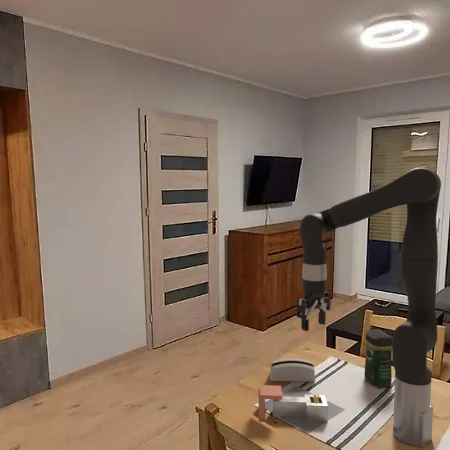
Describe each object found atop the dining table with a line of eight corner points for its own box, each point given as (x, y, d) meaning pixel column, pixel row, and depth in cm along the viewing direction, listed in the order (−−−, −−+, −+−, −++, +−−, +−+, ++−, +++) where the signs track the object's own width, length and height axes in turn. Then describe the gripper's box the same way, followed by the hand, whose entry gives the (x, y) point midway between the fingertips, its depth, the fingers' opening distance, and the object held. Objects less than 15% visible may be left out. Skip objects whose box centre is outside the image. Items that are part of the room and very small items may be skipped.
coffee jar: (395, 387, 140) (397, 336, 138) (374, 389, 139) (375, 337, 137) (381, 374, 149) (382, 326, 147) (361, 376, 148) (362, 327, 146)
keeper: (280, 411, 126) (280, 385, 125) (281, 422, 120) (282, 395, 119) (258, 410, 127) (258, 385, 126) (258, 421, 121) (258, 395, 120)
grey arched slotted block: (313, 376, 148) (315, 356, 144) (315, 386, 144) (317, 366, 140) (268, 375, 149) (269, 355, 145) (269, 385, 145) (269, 365, 141)
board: (344, 411, 125) (344, 409, 125) (307, 436, 113) (308, 433, 113) (296, 388, 140) (296, 385, 140) (259, 407, 128) (259, 405, 128)
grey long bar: (324, 410, 125) (324, 394, 124) (327, 421, 119) (328, 405, 118) (272, 408, 126) (272, 393, 126) (273, 419, 120) (273, 404, 120)
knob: (319, 418, 122) (319, 396, 121) (316, 420, 121) (316, 398, 120) (315, 415, 123) (315, 394, 123) (312, 417, 122) (312, 396, 122)
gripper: (309, 283, 118) (309, 336, 119) (337, 275, 127) (336, 325, 128) (290, 278, 123) (289, 329, 125) (318, 271, 132) (317, 319, 134)
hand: (313, 327), depth 127 cm, fingers open, 8 cm apart
